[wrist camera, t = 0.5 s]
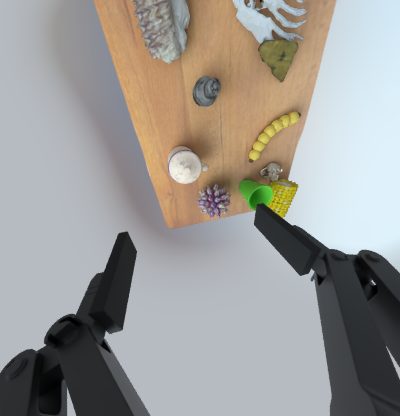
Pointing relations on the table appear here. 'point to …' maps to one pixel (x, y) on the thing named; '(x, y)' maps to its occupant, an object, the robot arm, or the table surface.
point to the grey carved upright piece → (206, 91)
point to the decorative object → (267, 19)
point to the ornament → (271, 171)
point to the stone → (278, 55)
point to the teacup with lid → (185, 165)
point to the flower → (214, 201)
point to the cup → (255, 193)
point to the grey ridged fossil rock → (163, 27)
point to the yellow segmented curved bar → (272, 133)
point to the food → (282, 196)
